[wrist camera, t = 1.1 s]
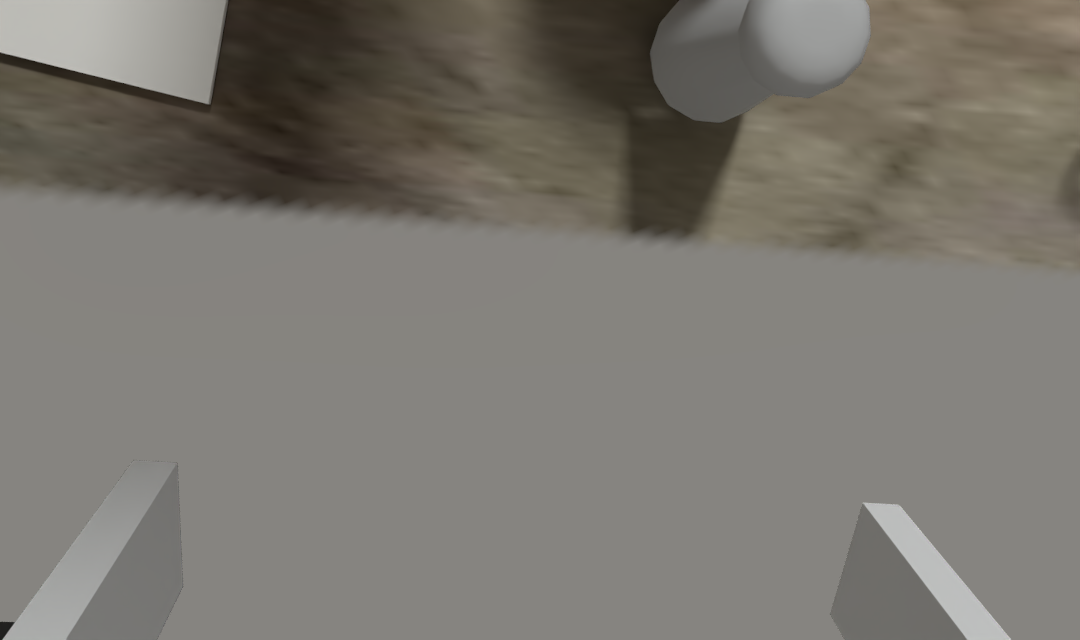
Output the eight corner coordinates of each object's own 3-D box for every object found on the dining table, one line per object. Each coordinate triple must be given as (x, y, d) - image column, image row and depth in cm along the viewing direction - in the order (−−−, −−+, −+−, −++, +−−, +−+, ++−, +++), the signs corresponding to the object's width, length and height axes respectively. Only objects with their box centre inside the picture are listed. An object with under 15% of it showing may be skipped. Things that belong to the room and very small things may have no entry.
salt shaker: (661, 141, 41) (764, 145, 28) (621, 25, 39) (710, -25, 27) (771, 95, 41) (922, 79, 28) (735, -22, 40) (876, -93, 27)
